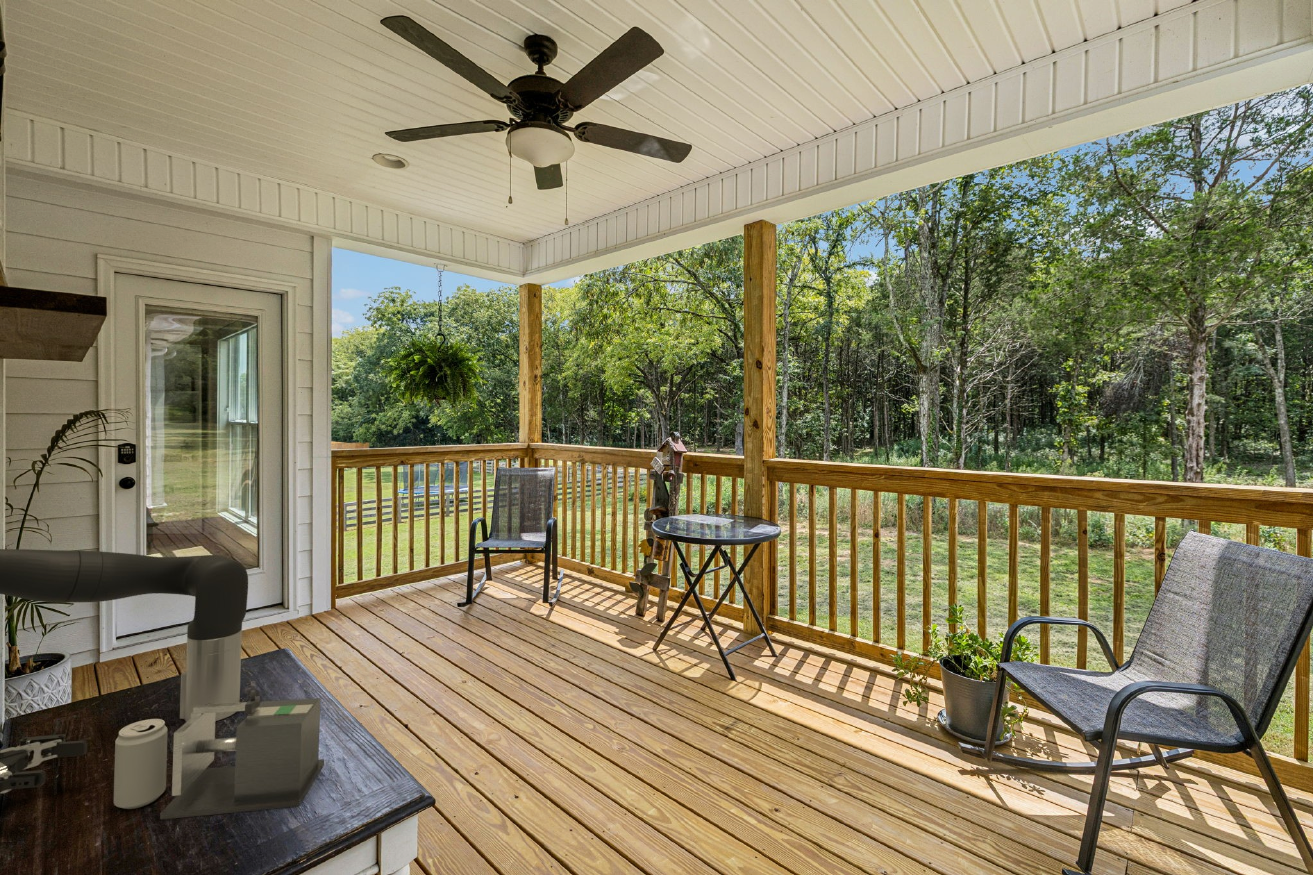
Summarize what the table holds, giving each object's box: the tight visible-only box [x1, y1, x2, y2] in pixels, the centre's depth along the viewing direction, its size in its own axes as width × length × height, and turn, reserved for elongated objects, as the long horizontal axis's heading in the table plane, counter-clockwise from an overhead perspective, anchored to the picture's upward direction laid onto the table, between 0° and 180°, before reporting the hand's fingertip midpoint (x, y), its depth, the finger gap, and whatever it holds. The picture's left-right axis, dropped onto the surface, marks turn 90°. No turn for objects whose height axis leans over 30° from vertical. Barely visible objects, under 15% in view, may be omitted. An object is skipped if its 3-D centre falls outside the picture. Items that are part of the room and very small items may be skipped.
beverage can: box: [113, 718, 168, 810], centre depth 94 cm, size 6×6×12 cm
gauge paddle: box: [171, 701, 248, 797], centre depth 97 cm, size 9×10×12 cm
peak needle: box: [244, 689, 261, 715], centre depth 98 cm, size 1×3×3 cm, turn 13°
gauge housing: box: [159, 697, 325, 821], centre depth 98 cm, size 20×12×13 cm, turn 103°
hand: (65, 762), depth 92 cm, fingers open, 8 cm apart
